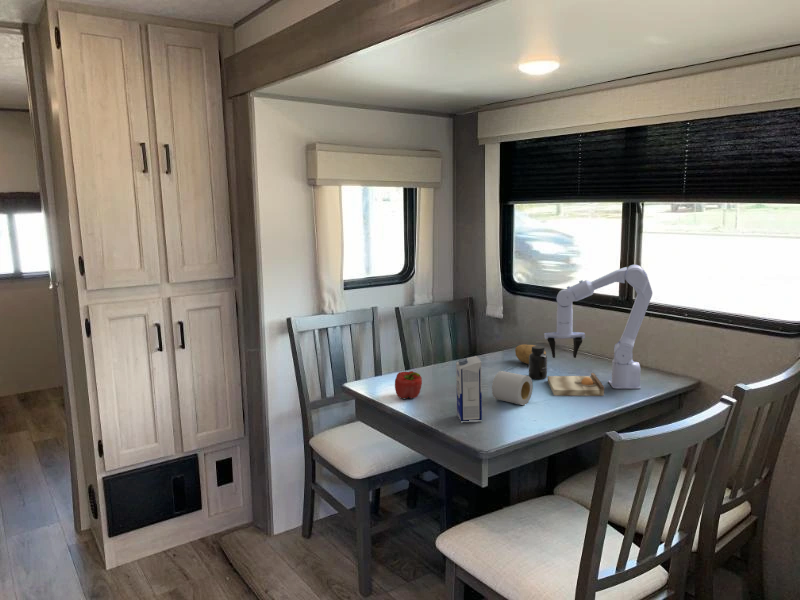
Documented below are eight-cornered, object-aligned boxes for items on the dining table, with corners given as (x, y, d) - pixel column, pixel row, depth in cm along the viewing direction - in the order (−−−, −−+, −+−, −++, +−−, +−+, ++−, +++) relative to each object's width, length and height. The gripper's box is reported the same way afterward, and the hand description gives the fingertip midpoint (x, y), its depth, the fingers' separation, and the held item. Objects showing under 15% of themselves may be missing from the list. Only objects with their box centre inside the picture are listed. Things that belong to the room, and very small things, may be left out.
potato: (524, 358, 254) (524, 340, 253) (550, 365, 243) (551, 346, 242) (509, 362, 249) (509, 344, 247) (535, 369, 238) (535, 350, 236)
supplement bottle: (547, 380, 224) (547, 349, 222) (528, 379, 226) (529, 349, 224) (546, 374, 231) (546, 345, 229) (528, 374, 232) (528, 344, 230)
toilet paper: (532, 400, 204) (532, 372, 202) (518, 409, 196) (518, 380, 194) (506, 394, 210) (506, 367, 208) (492, 402, 203) (491, 375, 201)
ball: (581, 375, 215) (579, 385, 216) (583, 378, 211) (582, 389, 212) (592, 376, 215) (590, 386, 216) (595, 380, 211) (593, 390, 212)
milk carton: (482, 422, 186) (481, 361, 182) (460, 423, 185) (459, 362, 182) (477, 414, 193) (476, 355, 189) (456, 415, 192) (455, 356, 189)
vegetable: (430, 397, 211) (429, 370, 209) (410, 404, 203) (409, 377, 202) (408, 390, 218) (407, 364, 216) (388, 397, 211) (387, 371, 209)
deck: (595, 381, 221) (595, 372, 221) (605, 395, 206) (605, 386, 205) (547, 381, 223) (547, 373, 223) (554, 395, 207) (554, 386, 207)
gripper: (582, 319, 222) (581, 354, 224) (543, 319, 223) (542, 354, 225) (586, 323, 215) (585, 359, 217) (545, 323, 216) (545, 359, 219)
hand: (564, 357), depth 221 cm, fingers open, 7 cm apart
